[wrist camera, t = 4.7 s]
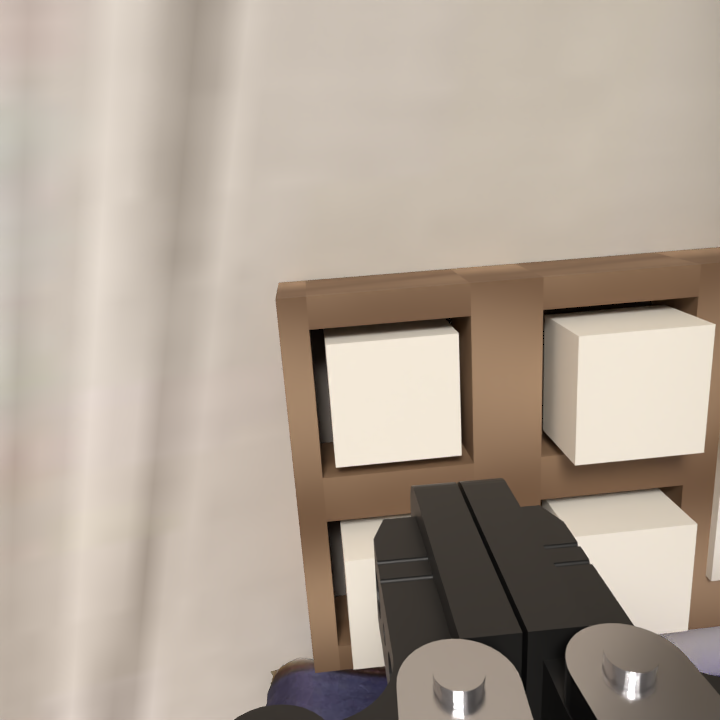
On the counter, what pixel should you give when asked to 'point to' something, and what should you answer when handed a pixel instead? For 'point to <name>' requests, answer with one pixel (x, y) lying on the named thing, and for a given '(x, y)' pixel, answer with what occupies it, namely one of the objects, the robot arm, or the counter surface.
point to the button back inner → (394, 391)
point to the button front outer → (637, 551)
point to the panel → (490, 405)
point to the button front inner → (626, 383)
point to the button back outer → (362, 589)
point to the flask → (326, 688)
